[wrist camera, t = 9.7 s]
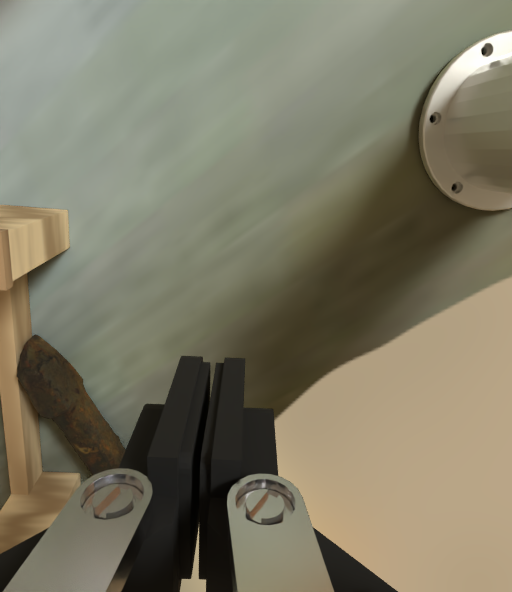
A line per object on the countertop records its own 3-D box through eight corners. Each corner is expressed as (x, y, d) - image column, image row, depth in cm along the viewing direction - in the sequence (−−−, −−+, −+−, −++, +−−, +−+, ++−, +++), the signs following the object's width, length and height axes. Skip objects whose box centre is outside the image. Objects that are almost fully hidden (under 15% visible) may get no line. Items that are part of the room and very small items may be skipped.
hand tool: (164, 485, 44) (156, 523, 39) (127, 499, 44) (115, 537, 40) (66, 320, 38) (44, 342, 34) (25, 337, 38) (-2, 361, 34)
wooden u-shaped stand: (70, 207, 35) (1, 231, 24) (83, 500, 43) (36, 608, 33) (-1, 202, 34) (-102, 224, 24) (26, 498, 43) (-39, 606, 33)
